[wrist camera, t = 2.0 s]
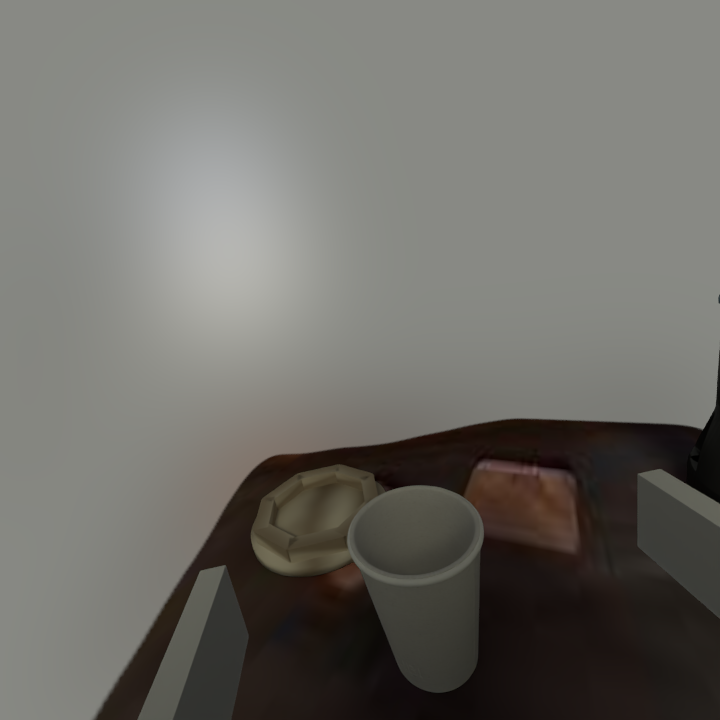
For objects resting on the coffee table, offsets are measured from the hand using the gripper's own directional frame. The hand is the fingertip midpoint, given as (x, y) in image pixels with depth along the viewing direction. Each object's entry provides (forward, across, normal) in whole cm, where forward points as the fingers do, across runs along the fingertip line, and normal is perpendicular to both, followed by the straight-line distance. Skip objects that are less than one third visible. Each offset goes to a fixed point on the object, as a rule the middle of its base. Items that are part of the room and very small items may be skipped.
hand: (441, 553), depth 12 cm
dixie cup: (+10, 0, -17) cm, 20 cm away
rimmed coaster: (+26, -8, -17) cm, 32 cm away
